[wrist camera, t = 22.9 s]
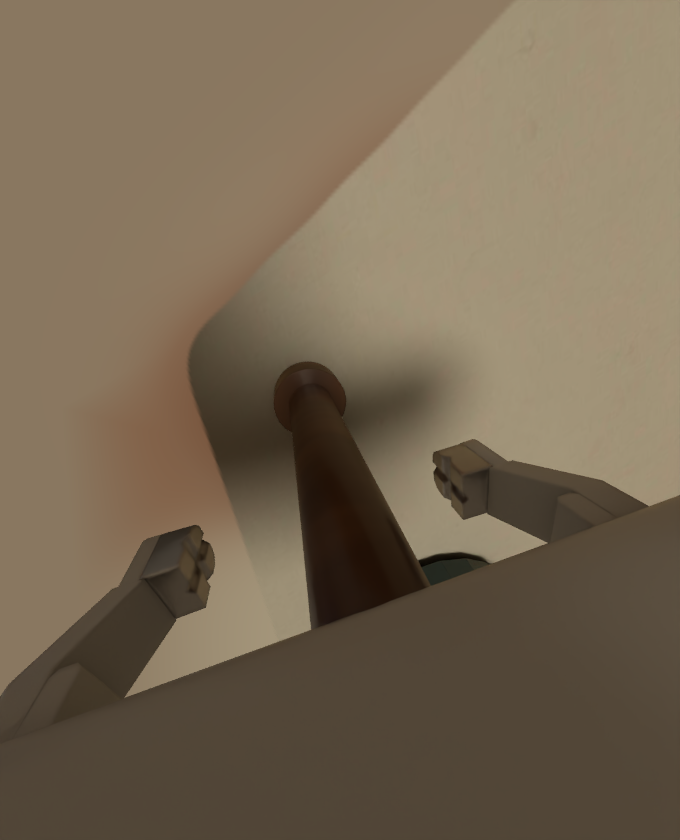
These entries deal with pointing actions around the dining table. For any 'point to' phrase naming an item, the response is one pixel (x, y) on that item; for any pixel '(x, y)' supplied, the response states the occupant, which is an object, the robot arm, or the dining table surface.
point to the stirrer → (340, 504)
